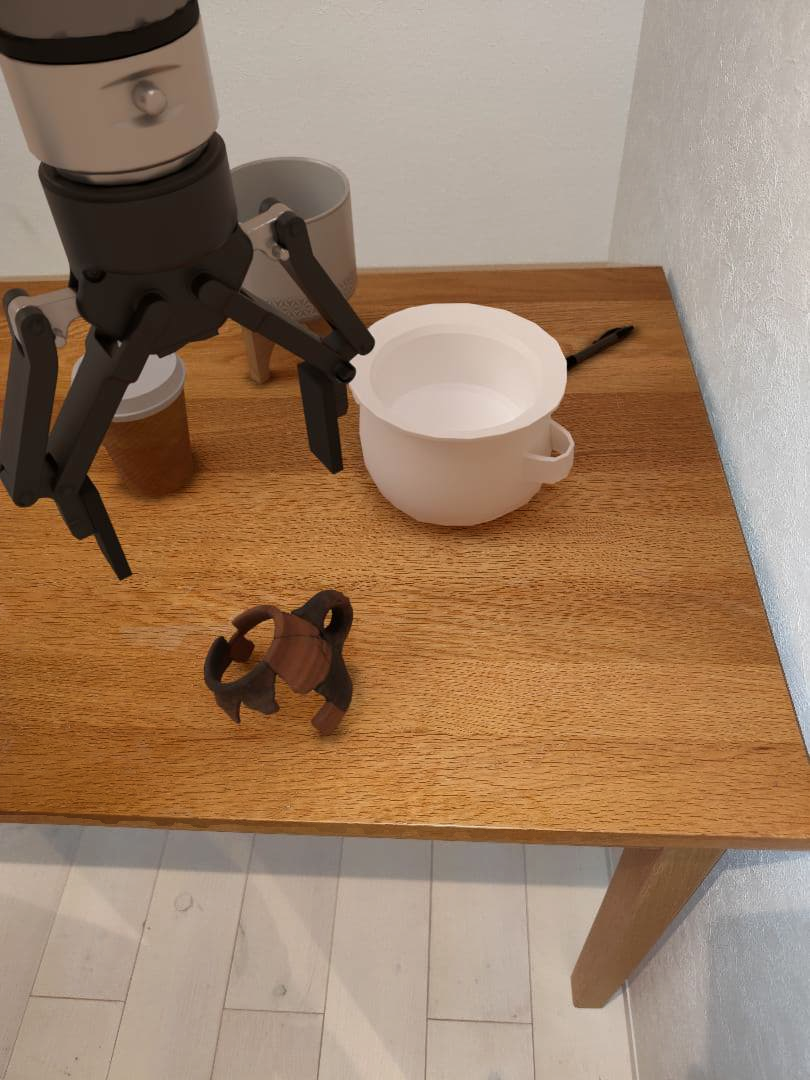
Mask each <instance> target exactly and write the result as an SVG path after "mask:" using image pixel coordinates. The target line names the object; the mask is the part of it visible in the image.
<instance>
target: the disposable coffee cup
mask: <svg viewBox="0 0 810 1080" xmlns="http://www.w3.org/2000/svg"><path fill="white" fill-rule="evenodd" d="M118 345H119V347H120V345H121V342H120V341H118ZM84 355H85V353H84V354H83V355H81V356H80V357H79V358H78V359H77V361H76V362H75V364H74V365H73V368H72V371H71V374H70V378H71V382H70V385H69V388H70V387H71V385H72V382H73V380H74V378H75V376H76V373H77V371H78V369H79V366H80V364H81V362H82V360H83V357H84ZM186 377H187V370H186V365H185V363H184V361H183V359H182V358H181V357H180V356H179V355H178V354H176V352H175V353H173V354H170V355H168V356H165V357H163V358H159V357H158V356H157V355H149V357H148V359H147V362H146V364H145V366H144V368H143V370H142V372H141V374H140V376H139V378H138V380H137V381H136V382H135V383H130V384H129V385H128V387H127V389H126V392H125V394H124V396H123V398H122V400H121V402H120V404H119V407H118V409H117V411H116V413H115V415H114V417H113V419H112V422H111V424H110V426H109V428H108V430H107V432H106V435H105V437H104V439H103V441H102V443H101V445H103V447H104V448H105V450H106V452H107V454H108V456H109V458H110V459H111V461H112V463H113V464H114V466H115V468H116V470H117V471H118V473H119V474H120V476H121V478H122V480H123V482H124V483H125V485H126V486H127V488H128V489H129V490H131V491H132V492H133V493H136V494H137V495H141V496H145V497H146V496H147V497H157V496H158V497H159V496H162V495H166V494H169V493H172V492H174V491H177V490H178V489H180V488H181V487H182V486H184V485H185V484H186V483H188V481H189V479H191V477H192V474H193V471H194V462H193V456H192V455H193V454H192V445H191V438H190V430H189V422H188V413H187V412H188V411H187V403H186V395H185V394H186V393H185V388H184V387H185V381H186Z"/></svg>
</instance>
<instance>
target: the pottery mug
mask: <svg viewBox="0 0 810 1080" xmlns="http://www.w3.org/2000/svg"><path fill="white" fill-rule="evenodd" d="M329 612H331V616H330V621H329V623H328V625H326V626H325V621H326V617H327V616H328V614H329ZM269 620H273V623H274V624H273V625H274V632H273V639H272V640H271V642H270V645H269V647H268V649H267V650H266V652H265V654H264V655H263V657H262V659H261V660H260V661H259V662H258V663H257V664H256V665H255V666H254V667H253V668H252V669H251V670H250V671H248V673H246V674H245V675H243V676H241V677H239V678H238V679H235V680H234V681H230V682H222V678H223V676H224V674H225V672H226V671H227V669H229V667H230V665H231V664H232V663H233V662H235V663H241V664H246V663H248V661H249V660H250V658H251V656H253V653H254V650H255V643H254V642H253V641H252V640H251V639H248V638H247V637H246V635H247V634H248V633H249V632H250V631H251V630H253V629H254V628H255V627H257V626H258V625H260V624H262V623H263V622H266V621H269ZM353 622H354V608H353V606H352V603H351V600H350V597H349V596H346V595H345V594H344V593H343V591H338V590H337V589H333V588H330V589H329V588H328V589H323V590H320V591H318V592H317V593H315V594H314V595H313V596H311V597H310V598H309V599H308V600H307V601H305V603H304V604H302V605H301V606H299V607H298V608H294V609H292V610H291V611H290V612H287V611H283V610H281V609H280V608H279V607H277V606H276V605H274V604H273V605H272V604H260V605H259V604H257V605H255V606H253V607H251V608H247V609H246V610H244V611H243V612H241V613H239V614H238V615H237V616H235V617H234V618H233V619H232V620H231V625H232V626H233V627H234V628H235V629H236V631H235V632H234V633H233V634H232V635H231V637H230V638H229V640H227V639H226V638H225V636H224V635H219V636H218V637H217V638H216V639H214V641H213V642H212V644H211V645H210V647H209V649H208V651H207V654H206V656H205V660H204V663H203V680H204V684H205V686H206V688H208V690H209V691H211V692H212V693H213V696H214V701H215V704H216V705H217V706H218V707H219V708H220V709H222V711H223V712H224V713H225V714H226V715H227V716H228V717H229V718H230V719H231V720H232V721H233V722H234V723H236V725H240V724H241V722H242V719H241V715H240V713H241V706H242V704H243V705H244V706H245V708H248V709H249V710H250V711H251V710H252V711H255V712H260V714H262V715H265V716H270V715H273V714H276V713H278V712H279V711H281V705H280V704H279V703H278V701H277V700H276V682H277V676H278V677H279V678H280V679H281V680H282V681H284V683H286V684H287V685H288V687H290V689H291V691H292V692H293V693H294V694H298V695H302V696H303V695H305V696H306V695H308V694H309V693H312V691H314V692H315V694H318V695H321V696H322V697H323V698H324V699H325V701H324V703H323V704H322V706H321V707H320V708H319V710H318V711H317V713H315V715H314V716H313V717H312V718H311V719H310V724H311V726H312V727H313V728H314V729H316V730H318V731H319V732H320V733H321V734H322V735H323V736H324V737H325V736H328V735H330V734H331V733H332V732H333V731H334V730H336V729H337V727H338V726H339V724H340V723H341V722H342V720H343V718H344V717H345V715H346V713H347V712H348V710H349V708H350V704H351V703H352V701H353V693H354V683H353V680H352V678H351V675H350V673H349V670H348V668H347V664H346V662H345V659H344V656H343V651H344V644H345V642H346V640H347V639H348V636H349V634H350V633H351V629H352V626H353Z"/></svg>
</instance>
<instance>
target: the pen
mask: <svg viewBox="0 0 810 1080" xmlns="http://www.w3.org/2000/svg"><path fill="white" fill-rule="evenodd" d="M634 329H635V326H634V325H633V324H630V325H628V326H623V327H621V326H620V327H618V326H617V327H614V328H611V329H609V330H607V331H605V332H604V333H603V334H602V335H601V336H599V337H598V338H597V340H594V341H593V342H592V343H591V345H589V346H587V347H585V348H583V349H582V350H580V351H578V352H576V353H575V354H571V355H568V356H567V357H565V359H566V361H567V371H568V370H569V369H571V368H573V367H574V366H577V365H578V363H580V362H581V361H584V360H585V359H587V358H589V357H590V356H592V355H594V354H596V353H598V352H600V351H601V350H603V349H605V348H607V347H608V346H611V345H612V344H614V343H616V342H618V341H621V340H622V339H624V338H625V337H627V336H629V335H630V333H631V332H632V331H634Z"/></svg>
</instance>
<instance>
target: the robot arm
mask: <svg viewBox="0 0 810 1080" xmlns="http://www.w3.org/2000/svg"><path fill="white" fill-rule="evenodd" d="M200 11H201V10H200V5H199V0H0V70H1V73H2V75H3V78H4V81H5V84H6V87H7V90H8V92H9V95H10V99H11V102H12V104H13V107H14V111H15V113H16V116H17V119H18V122H19V124H20V128H21V130H22V133H23V137H24V139H25V142H26V146H27V148H28V151H29V152H30V153H31V154H32V155H33V156H34V157H35V158H36V159H37V160H38V161H40V163H39V165H38V169H37V176H38V179H39V182H40V185H41V187H42V190H43V193H44V197H45V199H46V201H47V202H46V203H47V205H48V207H49V209H50V213H51V216H52V218H53V221H54V224H55V227H56V230H57V234H58V235H59V238H60V241H61V244H62V247H63V250H64V253H65V256H66V258H67V262H68V266H69V276H68V282H67V286H66V287H64V288H60V289H57V290H53V291H49V292H45V293H41V294H37V295H33V296H31V295H30V293H29V292H28V291H26V290H25V289H24V288H21V287H20V288H18V287H16V288H15V287H14V288H11V289H8V290H6V292H5V293H4V294H3V296H2V298H1V303H2V304H1V305H2V308H3V311H4V316H5V319H6V322H7V326H8V330H9V332H10V336H11V345H10V355H9V361H8V371H7V378H6V386H5V395H4V401H3V402H4V404H3V411H2V420H1V429H0V482H1V483H2V485H3V487H4V489H5V491H6V493H7V494H8V496H9V497H10V499H11V501H12V503H13V504H14V505H15V506H16V507H18V508H24V509H26V508H29V507H32V506H34V505H35V504H36V503H37V502H38V501H39V500H40V499H50V500H53V501H54V503H55V506H56V508H57V510H58V512H59V514H60V516H61V518H62V520H63V523H64V524H65V525H66V527H67V529H68V530H69V533H70V534H71V536H72V537H74V538H75V539H77V541H79V542H81V541H82V540H84V539H86V538H89V537H91V536H94V539H95V541H96V543H97V545H98V547H99V550H100V552H101V553H102V555H103V557H104V558H105V560H106V561H107V563H108V564H109V566H110V568H111V569H112V571H113V572H114V574H115V575H116V578H117V579H118V580H119V582H122V581H123V580H125V579H127V578H129V577H131V576H133V575H134V574H133V571H132V569H131V567H130V563H129V561H128V559H127V556H126V554H125V551H124V550H123V547H122V544H121V543H120V540H119V537H118V534H117V533H116V532H117V531H116V530H115V527H114V525H113V523H112V520H111V518H110V516H109V513H108V511H107V508H106V506H105V504H104V501H103V498H102V496H101V494H100V492H99V490H98V488H97V486H96V485H95V483H94V482H93V481H92V479H91V477H90V475H88V473H89V471H90V468H91V466H92V464H93V462H94V460H95V458H96V457H97V454H98V452H99V450H100V448H101V445H102V441H103V439H104V437H105V435H106V432H107V430H108V428H109V426H110V424H111V422H112V419H113V417H114V415H115V413H116V411H117V409H118V407H119V404H120V402H121V400H122V398H123V396H124V394H125V392H126V389H127V387H128V385H129V384H130V383H135V382H136V381H137V380H138V378H139V376H140V374H141V372H142V370H143V368H144V366H145V364H146V362H147V359H148V357H149V355H157V356H158V357H159V358H163V357H165V356H168V355H170V354H173V353H175V354H176V352H178V351H180V350H181V349H182V348H184V347H185V346H186V345H188V344H191V343H197V342H203V341H206V340H210V339H211V338H215V337H216V336H219V335H220V332H219V329H221V328H222V327H223V326H224V325H225V323H226V322H228V319H230V320H231V321H233V322H235V323H237V324H239V325H240V326H241V325H242V326H244V327H245V328H247V329H249V330H250V331H252V332H254V333H255V332H257V333H259V334H261V335H262V336H264V337H266V338H267V339H269V340H271V341H272V342H274V343H275V345H278V346H279V347H281V348H283V349H284V350H286V351H287V352H289V353H291V354H293V355H295V356H296V357H298V358H300V359H302V360H303V361H301V362H298V363H296V370H297V377H298V382H299V389H300V390H299V391H300V396H301V404H302V409H303V415H304V416H303V417H304V421H305V428H306V429H305V430H306V434H307V440H308V447H309V448H308V449H309V451H310V452H311V453H312V454H313V456H315V458H316V459H317V460H318V461H319V462H320V463H321V464H322V465H323V466H324V467H325V468H326V469H327V470H328V471H329V472H330V473H331V474H332V476H333V475H336V474H338V473H340V472H342V471H344V461H343V451H342V443H341V434H340V428H339V427H340V426H339V418H341V417H343V416H346V415H347V413H348V410H349V397H348V396H349V395H348V387H347V385H349V383H350V382H351V381H352V380H353V379H354V377H355V375H356V368H355V367H354V366H353V365H352V364H351V363H350V361H351V360H352V359H353V358H354V357H355V356H356V355H358V354H360V355H363V356H364V355H367V354H369V353H370V352H371V351H372V350H373V348H374V346H375V339H374V337H373V336H372V335H371V333H370V332H369V331H368V328H367V326H366V325H365V323H364V322H363V320H361V318H360V317H359V315H358V313H356V312H355V310H354V309H353V307H352V306H351V304H350V303H349V301H347V300H346V299H345V298H344V296H343V295H342V294H341V292H340V291H339V289H338V288H337V287H336V285H335V284H334V283H333V281H332V280H331V279H330V277H329V276H328V274H327V273H326V272H325V270H324V269H323V268H322V266H321V265H320V263H319V262H318V261H317V259H316V258H315V257H314V255H313V252H312V247H311V243H310V239H309V235H308V231H307V227H306V223H305V221H304V220H303V219H302V218H301V217H299V216H298V215H297V214H295V213H294V212H293V211H292V210H291V209H289V208H288V207H287V206H286V205H284V204H283V203H281V202H280V201H279V200H277V199H276V198H274V197H268V198H266V199H264V200H263V201H262V203H261V204H260V206H259V215H258V216H256V217H254V218H252V219H250V220H248V221H246V222H244V223H242V224H240V225H239V223H238V220H237V217H238V210H237V205H236V199H235V194H234V188H233V183H232V178H231V172H230V169H231V168H230V162H229V157H228V151H227V146H226V143H225V140H224V138H223V137H222V135H221V134H220V133H218V132H217V131H216V130H217V129H218V128H219V127H218V126H219V122H220V111H219V106H218V105H219V104H218V100H217V95H216V94H217V93H216V90H215V84H214V78H213V73H212V67H211V62H210V58H209V52H208V46H207V40H206V35H205V30H204V25H203V19H202V15H201V12H200ZM256 250H260V251H261V252H262V253H263V254H264V255H266V256H267V257H268V258H269V259H270V260H272V261H279V263H280V264H281V265H282V266H283V268H284V269H285V270H286V271H287V273H288V274H289V275H290V277H291V278H292V279H293V280H294V282H295V283H296V284H297V285H298V287H299V288H300V289H301V291H302V292H303V293H304V294H305V296H306V297H307V298H308V299H309V301H310V302H311V303H312V304H313V306H314V307H315V308H316V310H317V311H318V312H319V313H320V315H321V316H322V317H323V318H324V320H325V321H326V322H327V324H328V325H329V326H330V327H331V329H332V330H333V331H332V332H331V333H330V334H328V335H327V336H326V337H325V338H322V337H320V336H319V335H317V334H316V333H314V332H312V331H311V330H310V329H309V328H308V327H307V326H306V325H304V324H300V323H298V322H297V321H295V320H293V319H292V318H290V317H289V316H287V315H286V314H284V313H282V312H281V311H279V310H278V309H276V308H275V307H273V306H271V305H270V304H268V303H267V302H265V301H263V300H262V299H260V298H259V297H257V296H256V295H254V294H252V293H251V292H249V291H248V290H246V289H245V288H243V287H242V284H243V282H244V279H245V277H246V275H247V272H248V270H249V267H250V265H251V263H252V260H253V253H254V251H256ZM80 318H82V319H83V321H85V322H86V323H88V324H90V327H89V329H88V332H87V334H86V337H85V340H84V348H85V349H84V350H85V352H84V354H85V355H84V354H83V355H84V357H83V360H82V362H81V364H80V366H79V369H78V371H77V373H76V376H75V378H74V380H73V382H72V381H71V382H72V385H71V384H70V385H71V387H70V386H69V389H68V392H67V394H66V396H65V398H64V401H63V403H62V404H61V407H60V410H59V412H58V415H57V417H56V419H55V421H54V424H53V426H52V428H51V423H52V416H53V410H54V403H55V398H56V390H57V385H58V384H57V383H58V377H59V367H60V366H59V355H58V350H59V349H60V350H61V349H64V348H65V347H66V345H67V344H68V341H67V339H68V336H69V328H70V326H71V324H72V323H73V322H74V321H76V320H77V319H80ZM118 341H120V342H121V345H120V347H119V345H118ZM57 349H58V350H57ZM50 429H51V430H50Z"/></svg>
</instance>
